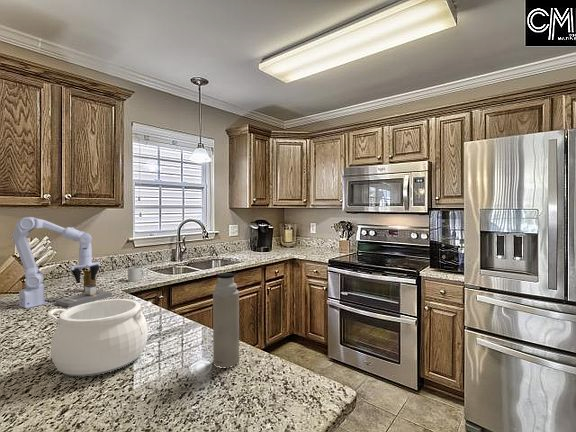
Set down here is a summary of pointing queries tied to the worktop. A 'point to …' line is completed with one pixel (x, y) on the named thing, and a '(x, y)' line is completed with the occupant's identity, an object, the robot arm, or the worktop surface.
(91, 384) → the worktop surface
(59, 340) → the pot
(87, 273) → the condiment
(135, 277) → the cup
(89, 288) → the fader tab
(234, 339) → the thermos bottle
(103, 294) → the console board
